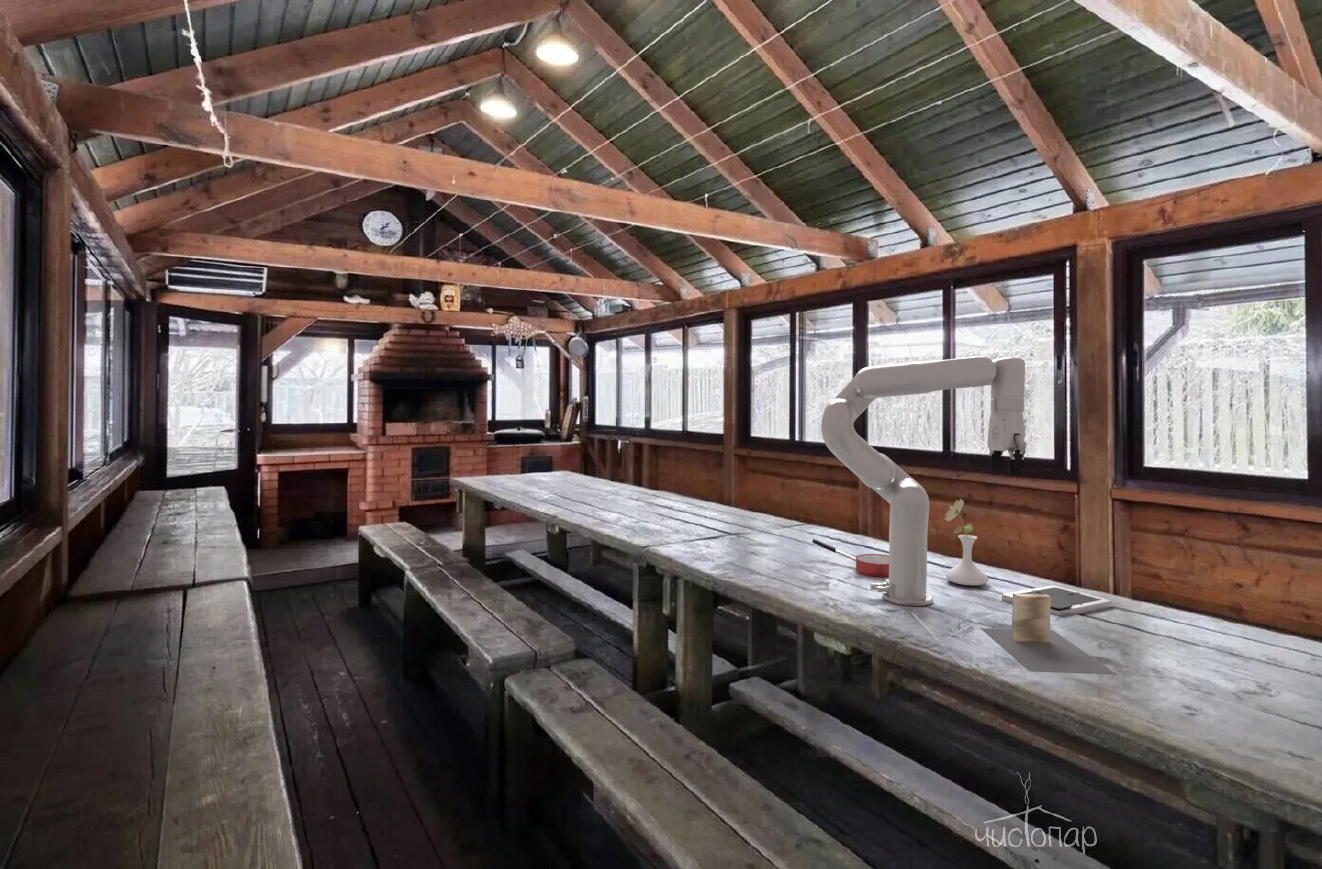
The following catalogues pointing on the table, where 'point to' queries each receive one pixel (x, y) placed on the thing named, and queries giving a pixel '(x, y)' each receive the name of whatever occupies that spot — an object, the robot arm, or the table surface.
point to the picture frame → (1065, 600)
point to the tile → (1031, 617)
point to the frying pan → (865, 562)
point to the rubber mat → (1047, 654)
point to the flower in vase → (964, 553)
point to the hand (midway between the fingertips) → (1005, 473)
